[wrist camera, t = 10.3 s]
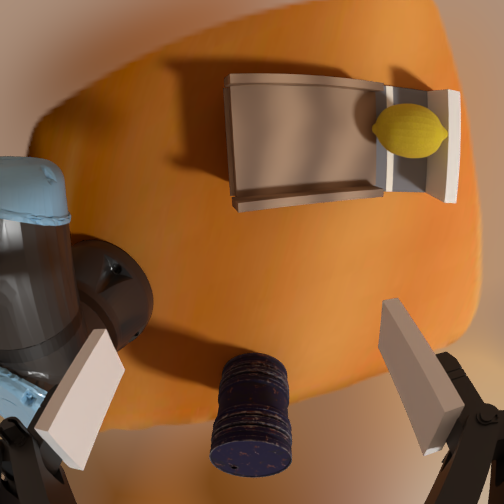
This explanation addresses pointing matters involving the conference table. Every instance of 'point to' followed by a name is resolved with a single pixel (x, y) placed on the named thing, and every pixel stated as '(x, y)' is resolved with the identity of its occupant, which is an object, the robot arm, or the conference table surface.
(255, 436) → the dark blue upright cylinder
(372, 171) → the ramp
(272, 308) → the conference table surface
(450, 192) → the rail
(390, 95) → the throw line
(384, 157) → the lane mat
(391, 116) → the lemon
